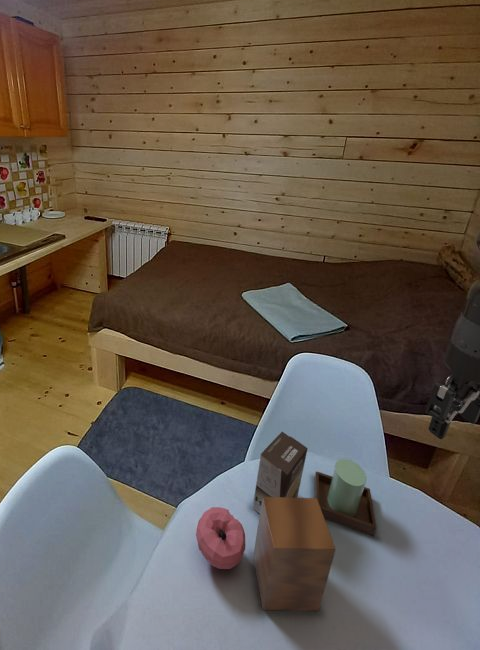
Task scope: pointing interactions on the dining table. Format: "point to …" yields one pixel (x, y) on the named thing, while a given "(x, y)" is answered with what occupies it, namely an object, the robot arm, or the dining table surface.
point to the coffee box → (280, 469)
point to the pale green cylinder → (346, 487)
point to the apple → (220, 538)
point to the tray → (360, 522)
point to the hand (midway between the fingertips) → (452, 426)
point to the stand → (292, 554)
